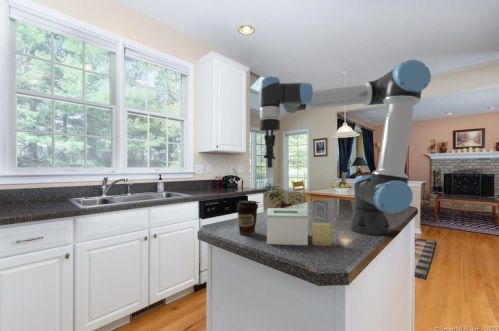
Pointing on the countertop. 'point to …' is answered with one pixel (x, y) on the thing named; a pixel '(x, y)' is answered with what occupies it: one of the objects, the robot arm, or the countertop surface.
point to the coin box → (287, 226)
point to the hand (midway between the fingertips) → (270, 176)
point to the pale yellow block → (321, 234)
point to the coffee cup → (247, 217)
